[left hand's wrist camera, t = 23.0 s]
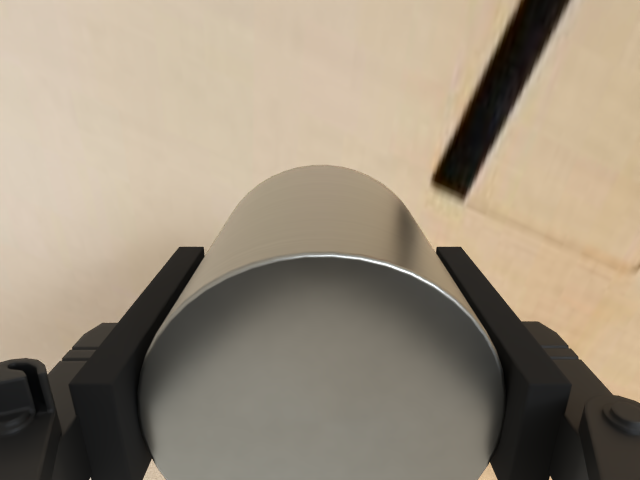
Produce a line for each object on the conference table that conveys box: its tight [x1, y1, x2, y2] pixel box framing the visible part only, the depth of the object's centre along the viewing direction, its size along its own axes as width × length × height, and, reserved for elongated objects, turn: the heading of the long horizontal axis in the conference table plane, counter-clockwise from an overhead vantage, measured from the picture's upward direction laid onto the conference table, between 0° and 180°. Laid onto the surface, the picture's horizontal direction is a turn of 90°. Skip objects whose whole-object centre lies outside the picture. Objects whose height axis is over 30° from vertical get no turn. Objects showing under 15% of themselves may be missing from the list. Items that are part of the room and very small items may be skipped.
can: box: [137, 165, 506, 480], centre depth 12 cm, size 7×7×8 cm
